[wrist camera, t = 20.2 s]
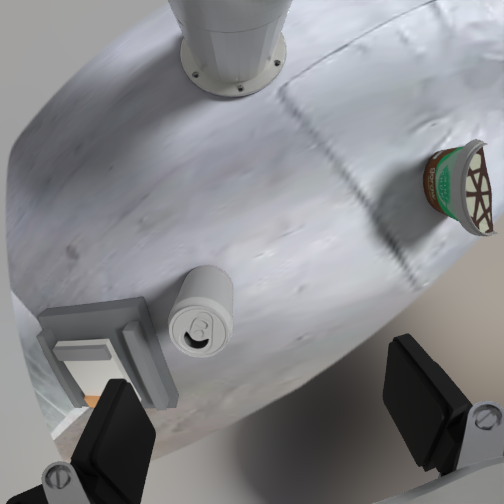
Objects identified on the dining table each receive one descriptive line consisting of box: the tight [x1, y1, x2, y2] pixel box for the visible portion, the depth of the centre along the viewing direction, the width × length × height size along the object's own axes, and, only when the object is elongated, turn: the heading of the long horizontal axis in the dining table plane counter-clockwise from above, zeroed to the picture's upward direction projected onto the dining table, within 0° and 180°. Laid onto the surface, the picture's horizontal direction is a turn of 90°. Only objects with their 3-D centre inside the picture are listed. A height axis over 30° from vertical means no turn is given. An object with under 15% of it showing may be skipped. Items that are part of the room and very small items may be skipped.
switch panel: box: [36, 297, 179, 410], centre depth 39 cm, size 18×18×6 cm
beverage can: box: [168, 265, 233, 358], centre depth 33 cm, size 6×6×12 cm
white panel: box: [53, 339, 141, 407], centre depth 36 cm, size 12×9×2 cm
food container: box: [423, 139, 498, 236], centre depth 31 cm, size 12×6×10 cm, turn 18°
